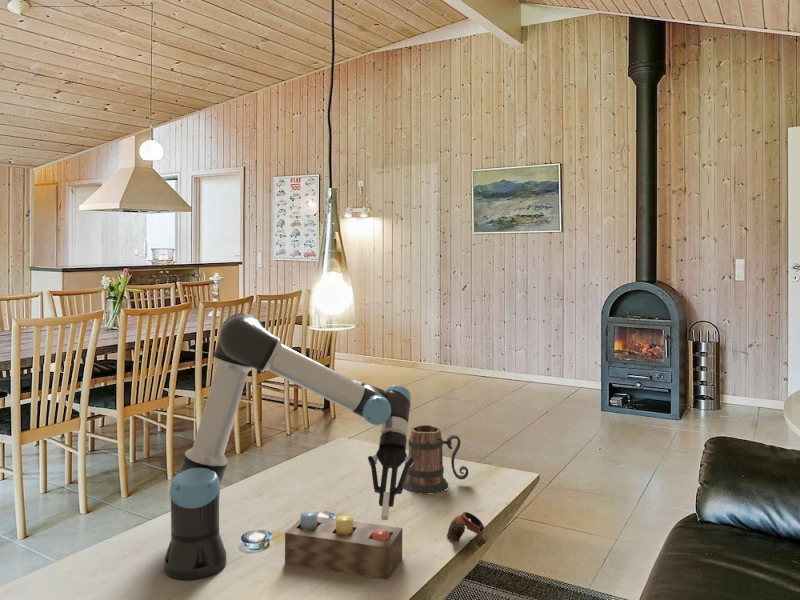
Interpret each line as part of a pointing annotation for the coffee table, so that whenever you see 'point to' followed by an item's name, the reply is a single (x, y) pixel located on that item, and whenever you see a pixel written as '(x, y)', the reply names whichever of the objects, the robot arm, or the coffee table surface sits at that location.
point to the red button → (381, 535)
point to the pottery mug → (459, 526)
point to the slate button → (309, 520)
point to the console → (344, 548)
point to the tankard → (429, 460)
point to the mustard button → (344, 525)
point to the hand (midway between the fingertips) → (384, 517)
